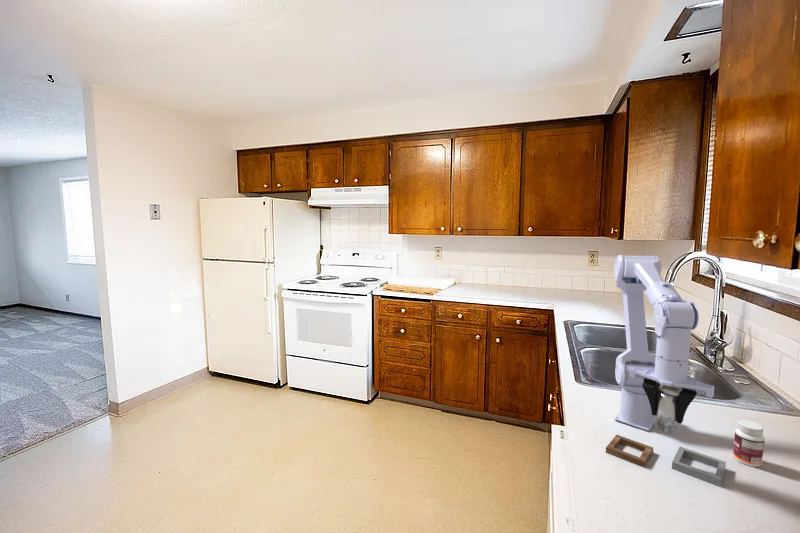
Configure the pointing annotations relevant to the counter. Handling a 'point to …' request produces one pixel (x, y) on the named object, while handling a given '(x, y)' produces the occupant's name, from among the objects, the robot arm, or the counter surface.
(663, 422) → the grey thick round cylinder
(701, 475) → the frame
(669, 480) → the counter surface
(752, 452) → the pill bottle
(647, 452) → the socket frame
